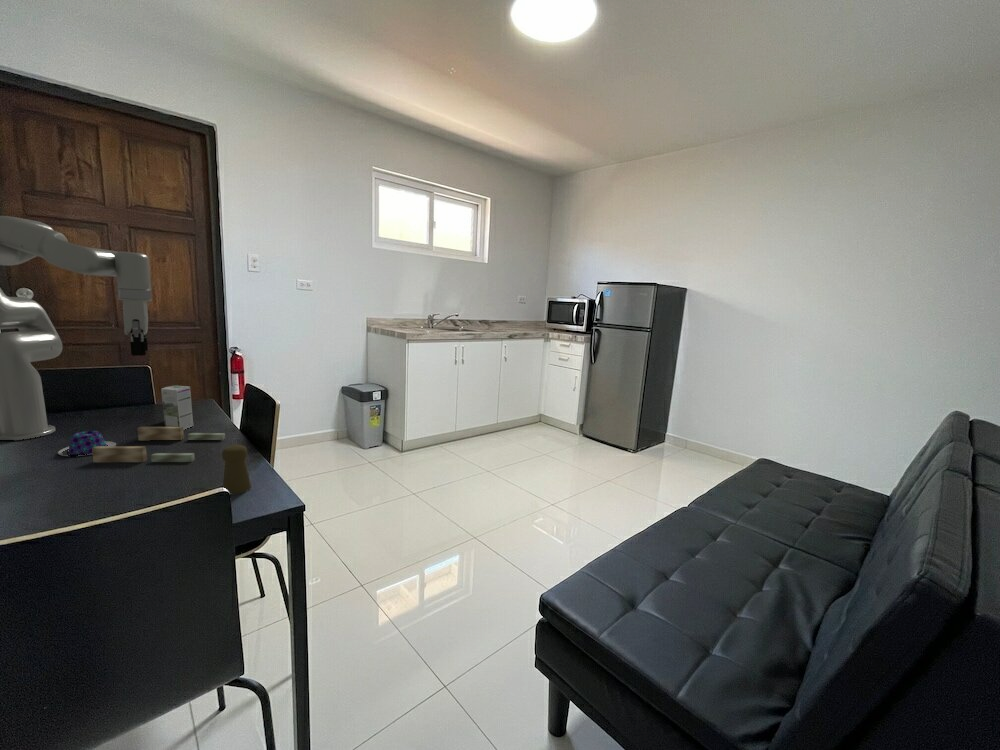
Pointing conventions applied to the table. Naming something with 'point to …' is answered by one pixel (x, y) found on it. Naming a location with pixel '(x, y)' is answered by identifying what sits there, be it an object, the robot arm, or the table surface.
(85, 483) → the table surface
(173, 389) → the syrup box
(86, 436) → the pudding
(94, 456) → the channel
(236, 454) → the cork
